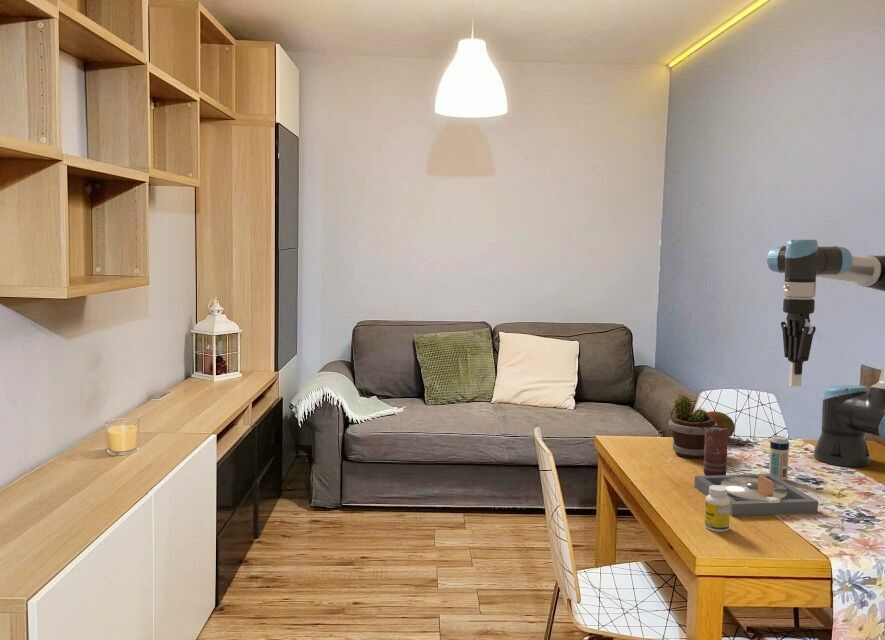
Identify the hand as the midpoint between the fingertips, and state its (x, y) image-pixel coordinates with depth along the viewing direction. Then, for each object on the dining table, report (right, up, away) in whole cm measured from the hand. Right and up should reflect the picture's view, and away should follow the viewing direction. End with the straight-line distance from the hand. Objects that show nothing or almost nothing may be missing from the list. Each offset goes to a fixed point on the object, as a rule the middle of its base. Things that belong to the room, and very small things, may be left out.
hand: (794, 385), depth 200 cm
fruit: (-2, -23, +53) cm, 58 cm away
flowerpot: (-16, -25, +36) cm, 46 cm away
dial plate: (-13, -29, -5) cm, 32 cm away
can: (-16, -27, +15) cm, 35 cm away
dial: (-13, -28, -5) cm, 31 cm away
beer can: (0, -28, +11) cm, 30 cm away
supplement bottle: (-30, -32, -24) cm, 50 cm away
